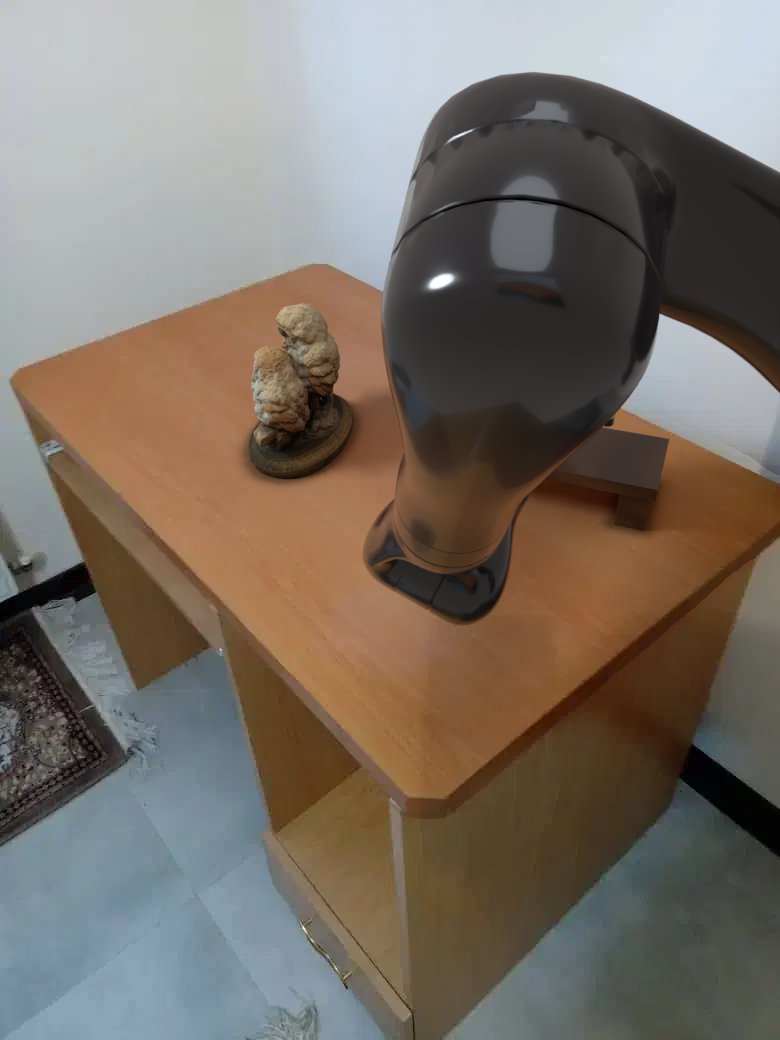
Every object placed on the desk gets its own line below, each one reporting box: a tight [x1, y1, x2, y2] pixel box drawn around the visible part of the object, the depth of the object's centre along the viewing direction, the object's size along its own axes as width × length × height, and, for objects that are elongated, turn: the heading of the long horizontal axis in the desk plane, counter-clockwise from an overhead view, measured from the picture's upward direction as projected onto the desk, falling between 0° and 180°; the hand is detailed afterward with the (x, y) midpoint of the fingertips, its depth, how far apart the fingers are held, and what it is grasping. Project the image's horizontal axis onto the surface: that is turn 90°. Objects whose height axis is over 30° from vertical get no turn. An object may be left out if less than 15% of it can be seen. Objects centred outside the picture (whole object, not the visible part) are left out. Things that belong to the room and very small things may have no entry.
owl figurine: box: [248, 302, 354, 479], centre depth 92 cm, size 18×12×17 cm, turn 165°
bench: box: [545, 426, 670, 531], centre depth 86 cm, size 22×9×6 cm, turn 68°
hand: (572, 349), depth 79 cm, fingers closed on energy drink, 5 cm apart
